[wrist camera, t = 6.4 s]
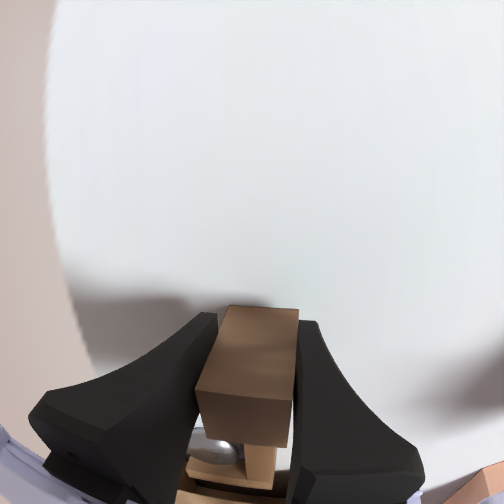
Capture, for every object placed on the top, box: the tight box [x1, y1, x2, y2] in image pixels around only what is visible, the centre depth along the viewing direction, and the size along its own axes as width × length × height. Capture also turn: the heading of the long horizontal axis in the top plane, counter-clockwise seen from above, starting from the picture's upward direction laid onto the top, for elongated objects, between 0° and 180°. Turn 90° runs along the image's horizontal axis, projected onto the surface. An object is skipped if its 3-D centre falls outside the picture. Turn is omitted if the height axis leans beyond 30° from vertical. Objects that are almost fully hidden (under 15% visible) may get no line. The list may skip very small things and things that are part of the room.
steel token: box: [187, 427, 241, 465], centre depth 18 cm, size 4×4×1 cm
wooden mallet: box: [186, 305, 299, 490], centre depth 14 cm, size 7×16×5 cm, turn 1°
